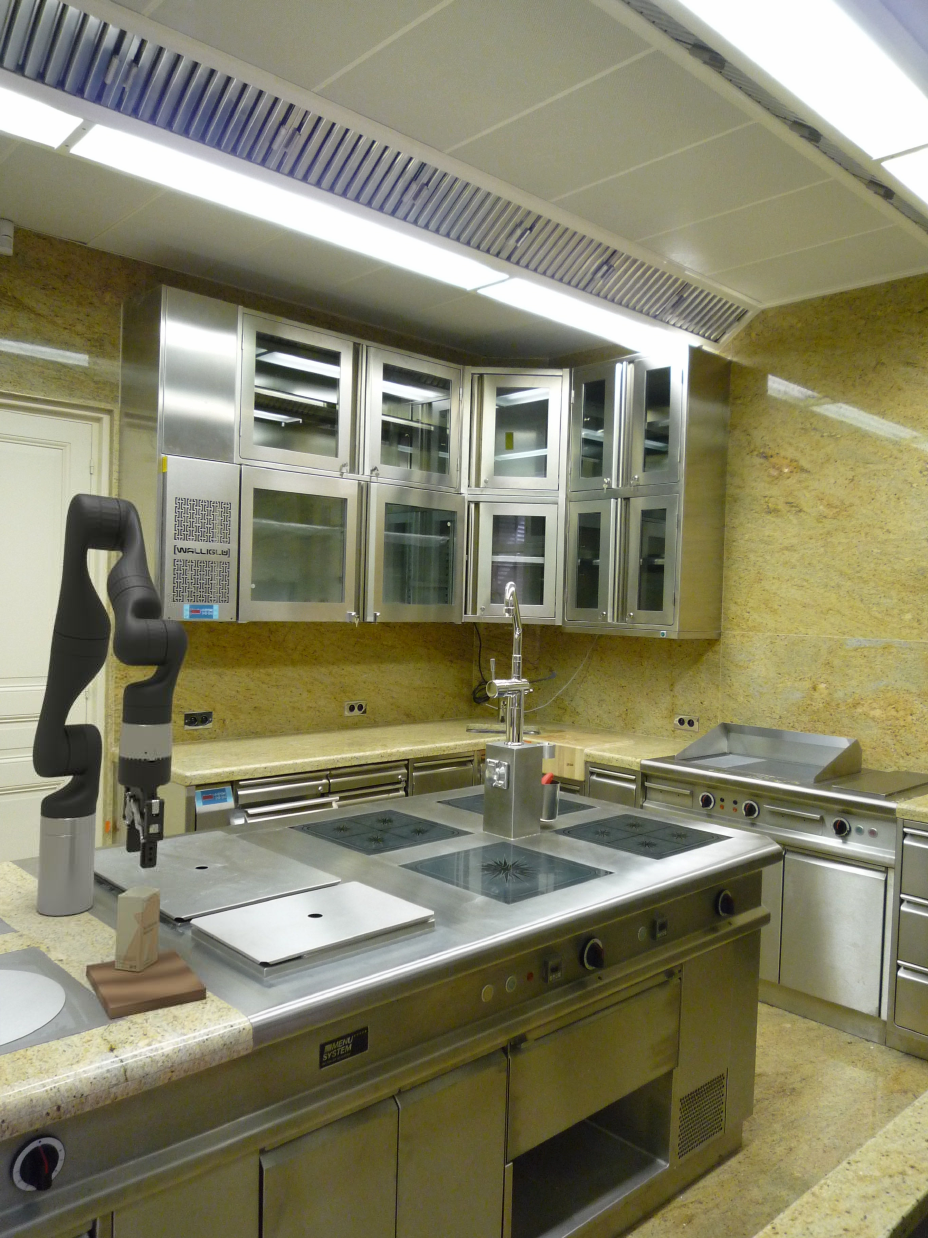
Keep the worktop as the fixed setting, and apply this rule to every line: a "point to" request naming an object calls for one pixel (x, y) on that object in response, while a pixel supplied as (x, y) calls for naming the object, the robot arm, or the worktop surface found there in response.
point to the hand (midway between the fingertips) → (140, 859)
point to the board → (145, 985)
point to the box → (137, 928)
